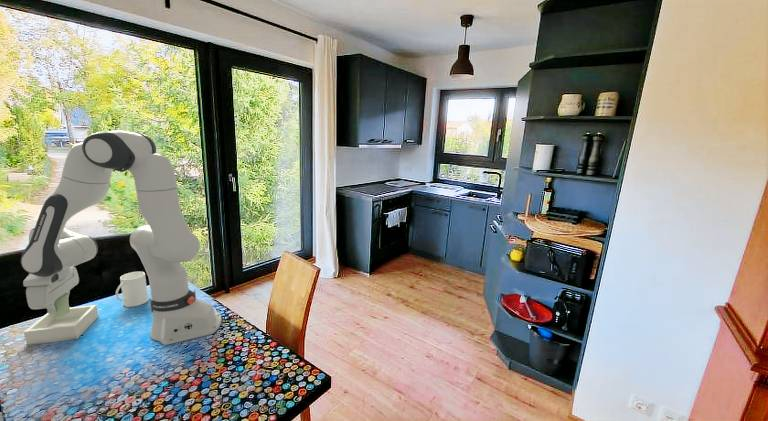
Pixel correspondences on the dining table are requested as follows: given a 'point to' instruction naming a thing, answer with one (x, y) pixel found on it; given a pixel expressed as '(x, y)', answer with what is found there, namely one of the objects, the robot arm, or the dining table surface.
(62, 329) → the bin
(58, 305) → the pale green rounded piece
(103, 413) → the dining table surface
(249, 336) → the dining table surface
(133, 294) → the mug
